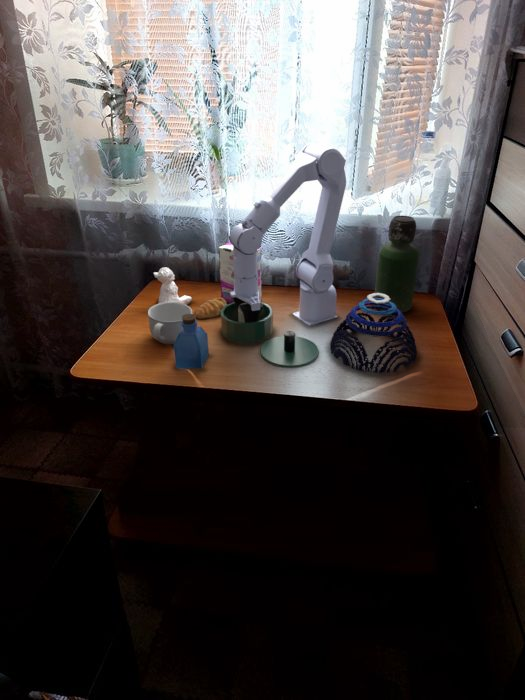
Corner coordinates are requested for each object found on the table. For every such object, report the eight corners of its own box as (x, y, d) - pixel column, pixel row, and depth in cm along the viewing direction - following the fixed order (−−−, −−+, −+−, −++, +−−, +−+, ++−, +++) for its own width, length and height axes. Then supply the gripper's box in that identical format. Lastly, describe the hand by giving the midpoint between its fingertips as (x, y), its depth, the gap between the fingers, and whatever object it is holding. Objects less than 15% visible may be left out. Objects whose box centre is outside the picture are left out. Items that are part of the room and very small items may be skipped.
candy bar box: (262, 303, 153) (262, 248, 144) (253, 310, 149) (252, 254, 140) (230, 295, 158) (228, 241, 149) (220, 301, 154) (217, 246, 146)
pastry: (202, 323, 143) (201, 311, 141) (189, 315, 147) (188, 302, 145) (231, 313, 148) (230, 300, 146) (217, 305, 152) (216, 293, 150)
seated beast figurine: (193, 301, 154) (189, 262, 148) (181, 315, 147) (178, 274, 141) (162, 298, 156) (157, 259, 150) (149, 311, 149) (144, 271, 143)
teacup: (167, 325, 142) (164, 297, 138) (202, 333, 138) (200, 305, 134) (134, 349, 131) (130, 320, 127) (171, 359, 127) (168, 330, 123)
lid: (297, 334, 137) (297, 314, 134) (329, 358, 127) (331, 338, 124) (250, 348, 131) (249, 328, 128) (280, 375, 121) (280, 354, 118)
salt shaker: (250, 325, 141) (250, 300, 137) (259, 332, 137) (258, 307, 134) (235, 329, 139) (234, 304, 135) (243, 336, 136) (243, 311, 132)
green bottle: (371, 297, 155) (381, 212, 143) (408, 298, 155) (421, 212, 142) (375, 314, 147) (385, 224, 134) (414, 315, 146) (427, 225, 133)
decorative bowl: (313, 344, 133) (316, 291, 125) (376, 324, 141) (382, 273, 134) (366, 384, 118) (372, 326, 111) (432, 359, 127) (442, 304, 119)
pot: (256, 316, 146) (256, 296, 143) (282, 336, 136) (282, 315, 133) (213, 328, 140) (212, 307, 137) (236, 350, 131) (236, 328, 128)
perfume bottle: (201, 370, 123) (198, 324, 117) (175, 368, 124) (171, 322, 118) (208, 356, 128) (205, 311, 122) (183, 354, 129) (179, 309, 123)
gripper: (221, 266, 135) (223, 314, 142) (239, 288, 123) (241, 340, 130) (247, 262, 137) (249, 310, 144) (268, 284, 125) (268, 334, 132)
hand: (247, 324), depth 137 cm, fingers open, 5 cm apart
